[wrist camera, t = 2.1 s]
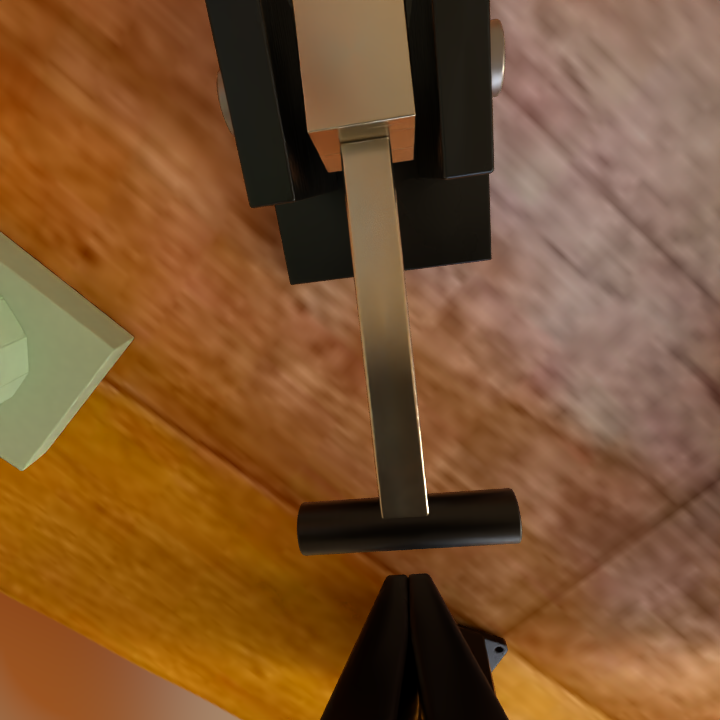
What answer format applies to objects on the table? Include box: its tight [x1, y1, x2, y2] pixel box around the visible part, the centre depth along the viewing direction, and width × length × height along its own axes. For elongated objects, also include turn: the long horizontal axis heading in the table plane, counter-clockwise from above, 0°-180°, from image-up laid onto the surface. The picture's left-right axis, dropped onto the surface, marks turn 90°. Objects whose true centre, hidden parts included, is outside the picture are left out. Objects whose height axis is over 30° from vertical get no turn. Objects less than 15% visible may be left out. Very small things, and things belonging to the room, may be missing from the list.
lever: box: [291, 0, 522, 556], centre depth 10 cm, size 12×5×2 cm, turn 8°
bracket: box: [205, 0, 505, 285], centre depth 13 cm, size 11×8×9 cm
